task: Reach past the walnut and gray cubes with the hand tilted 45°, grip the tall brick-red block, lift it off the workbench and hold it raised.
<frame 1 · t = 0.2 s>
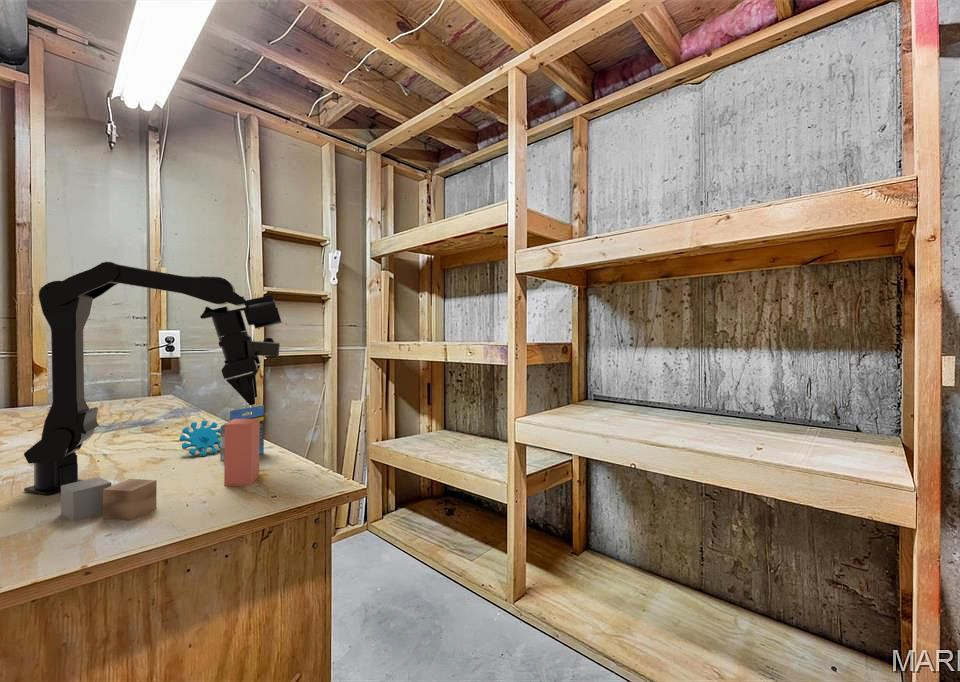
hand: (253, 400, 96), 15 cm above the table, tool tilted 15°, fingers open, 9 cm apart
label tape cartridge: (242, 457, 104), on the table
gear: (206, 453, 107), on the table
walnut cube: (130, 513, 73), on the table
gray cube: (86, 513, 73), on the table
red block: (242, 480, 89), on the table
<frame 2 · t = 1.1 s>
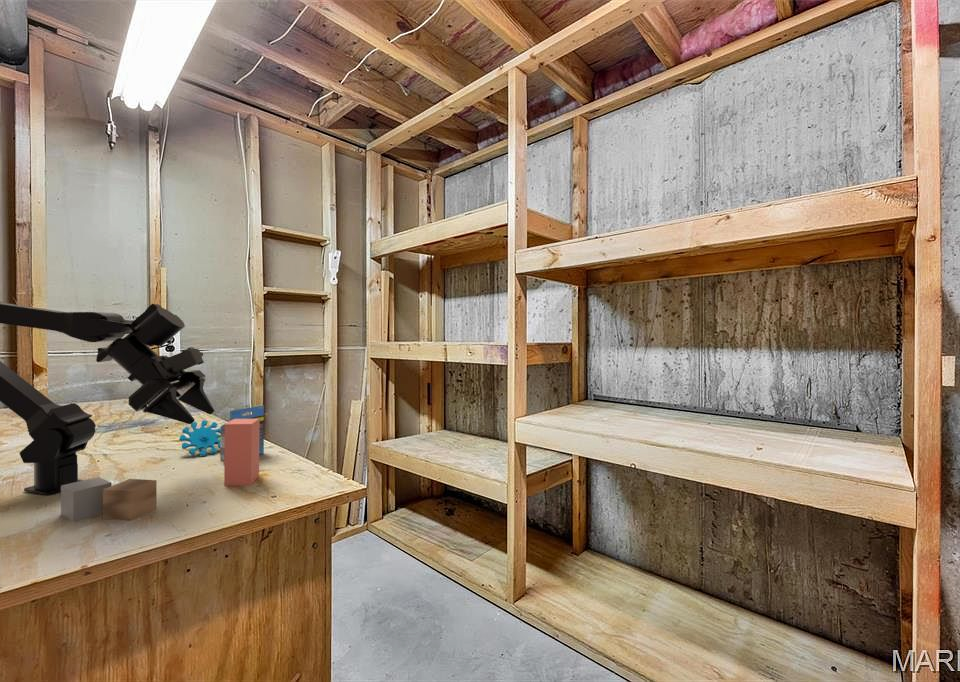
hand: (203, 417, 87), 13 cm above the table, tool tilted 45°, fingers open, 9 cm apart
nothing on the table moved.
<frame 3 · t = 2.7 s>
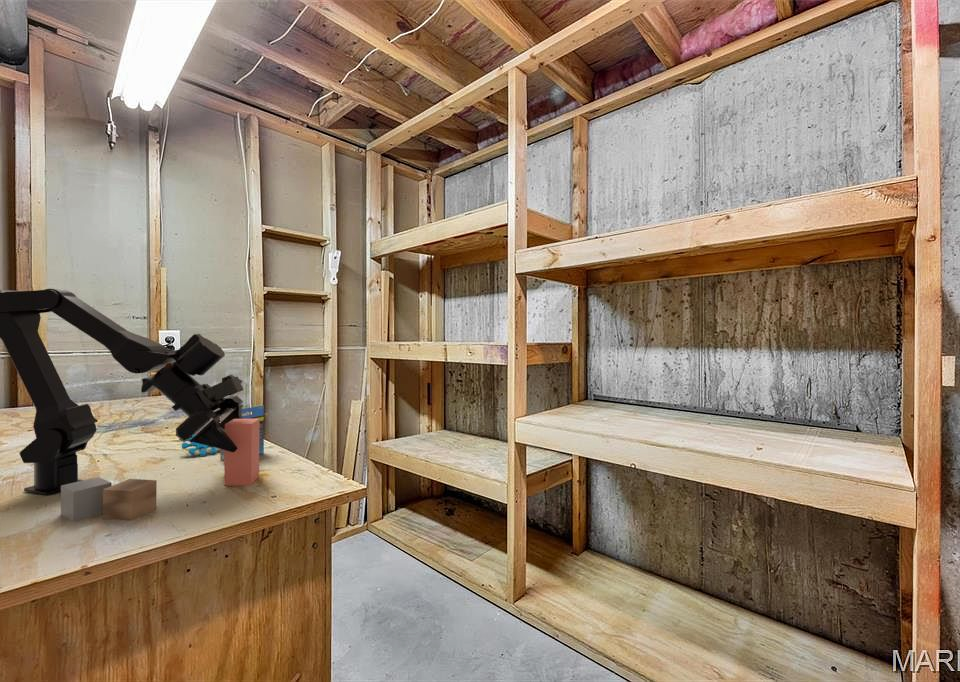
hand: (243, 444, 89), 8 cm above the table, tool tilted 45°, fingers open, 9 cm apart
nothing on the table moved.
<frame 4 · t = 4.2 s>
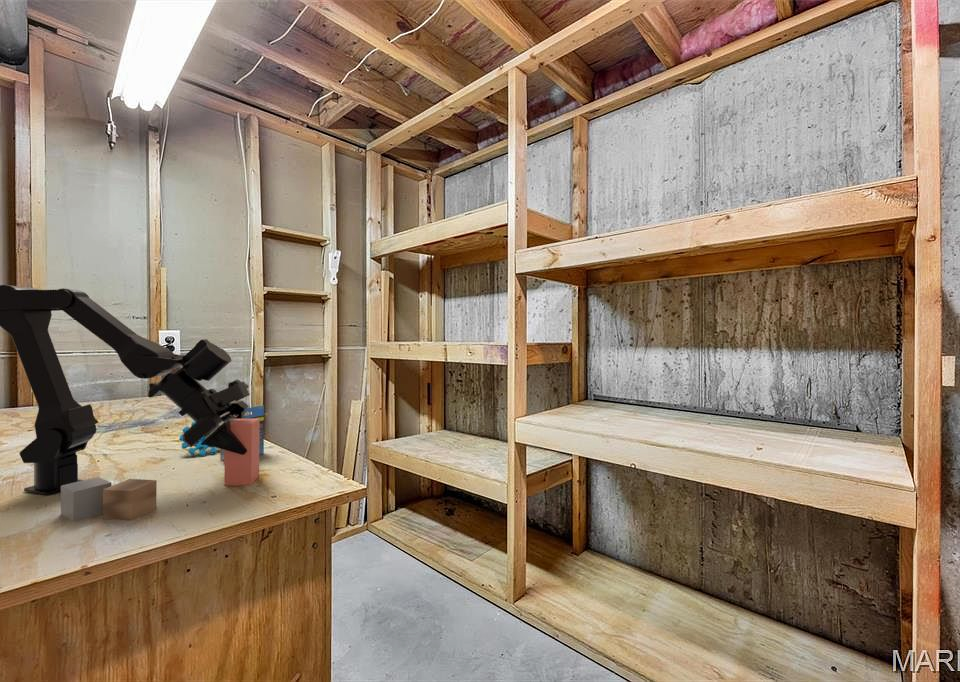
hand: (249, 449, 89), 7 cm above the table, tool tilted 45°, fingers closed on red block, 5 cm apart
red block: (242, 480, 89), on the table, touching gripper
everything else where it was.
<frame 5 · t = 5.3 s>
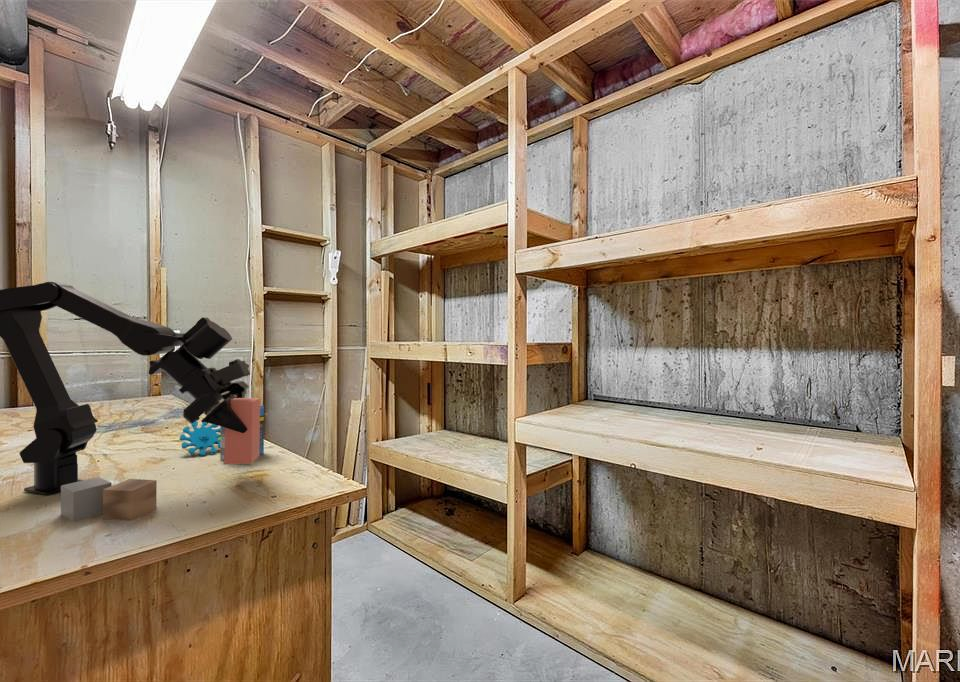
hand: (250, 428, 89), 11 cm above the table, tool tilted 45°, fingers closed on red block, 5 cm apart
red block: (242, 459, 89), point 4 cm above the table, touching gripper
everything else where it was.
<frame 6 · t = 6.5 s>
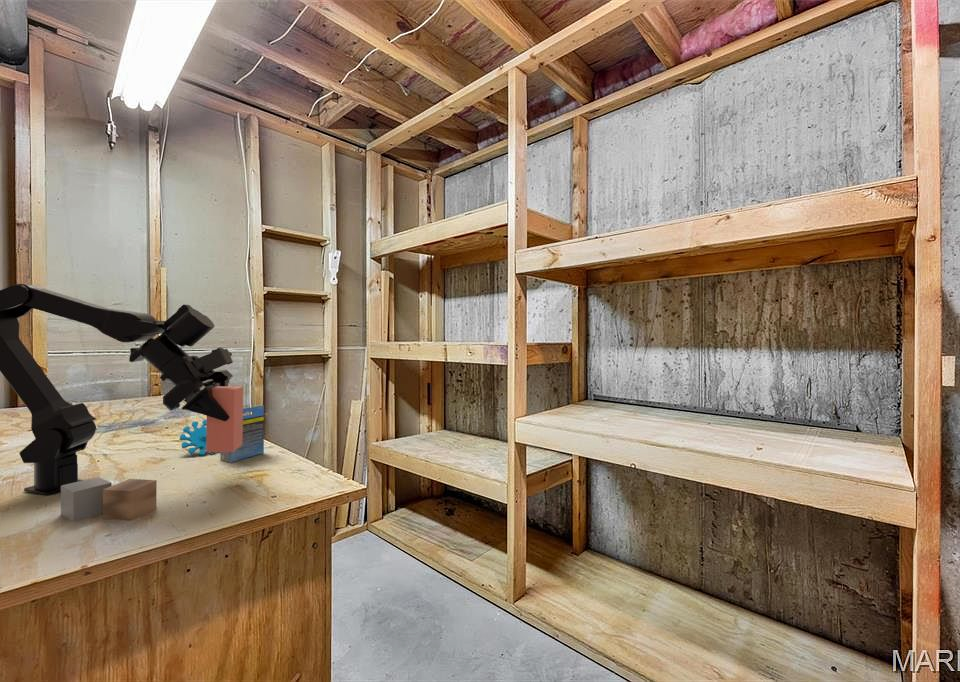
hand: (232, 416, 88), 13 cm above the table, tool tilted 45°, fingers closed on red block, 5 cm apart
red block: (224, 448, 88), point 7 cm above the table, touching gripper
everything else where it was.
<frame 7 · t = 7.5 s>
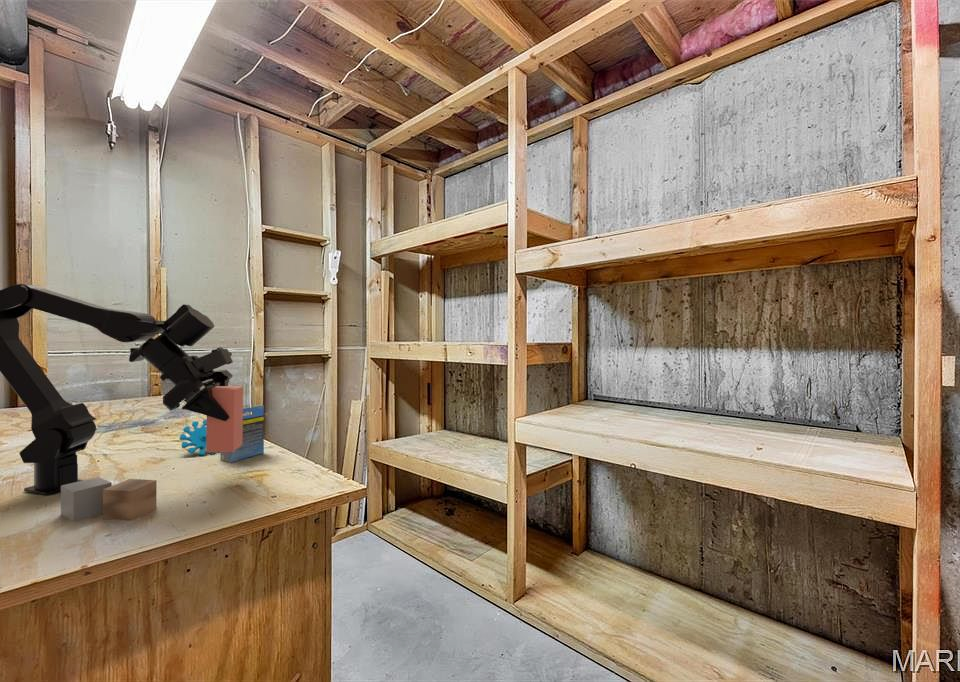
hand: (232, 416, 88), 13 cm above the table, tool tilted 45°, fingers closed on red block, 5 cm apart
red block: (224, 448, 88), point 7 cm above the table, touching gripper
everything else where it was.
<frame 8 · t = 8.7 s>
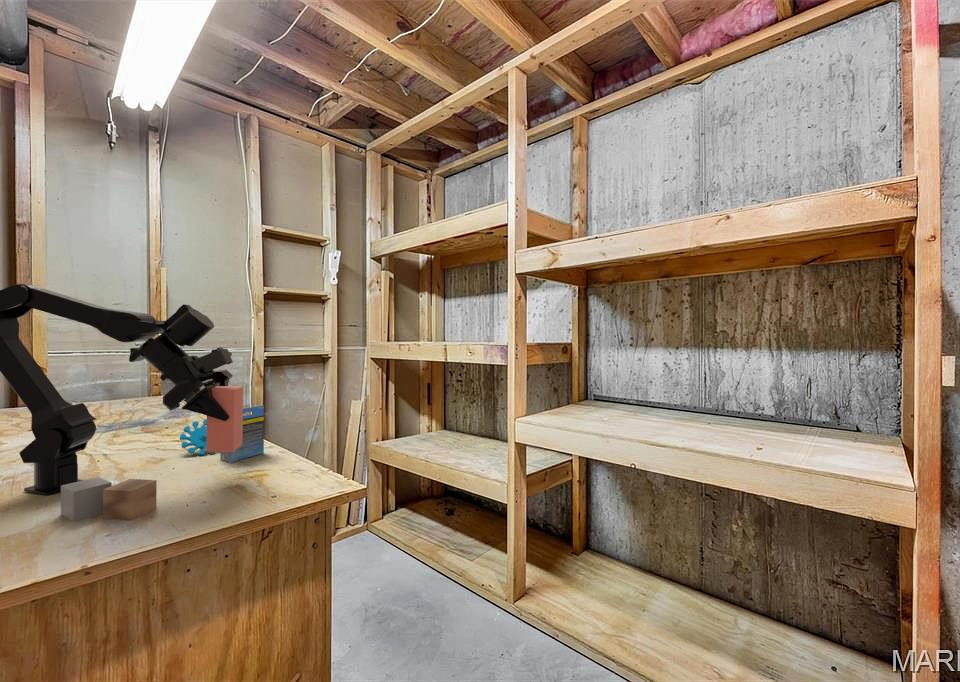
hand: (232, 416, 88), 13 cm above the table, tool tilted 45°, fingers closed on red block, 5 cm apart
red block: (224, 448, 88), point 7 cm above the table, touching gripper
everything else where it was.
at the end: the gripper is holding red block; red block point 6.9 cm above the table; walnut cube moved 0.1 cm from its start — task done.
